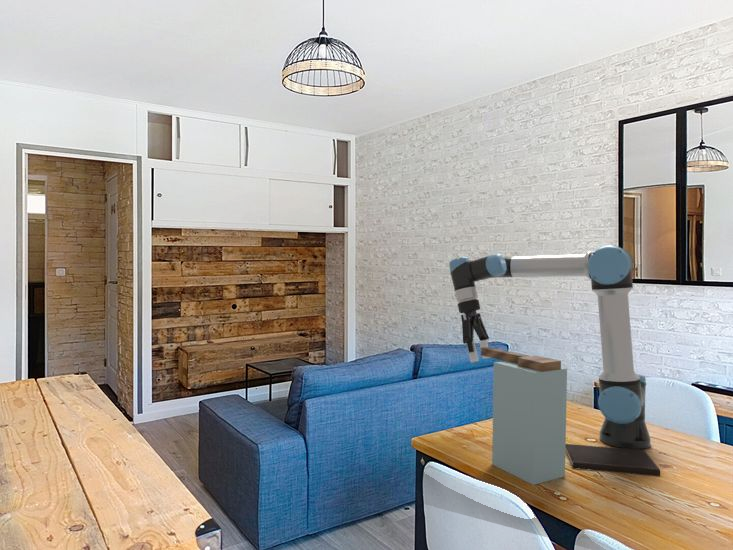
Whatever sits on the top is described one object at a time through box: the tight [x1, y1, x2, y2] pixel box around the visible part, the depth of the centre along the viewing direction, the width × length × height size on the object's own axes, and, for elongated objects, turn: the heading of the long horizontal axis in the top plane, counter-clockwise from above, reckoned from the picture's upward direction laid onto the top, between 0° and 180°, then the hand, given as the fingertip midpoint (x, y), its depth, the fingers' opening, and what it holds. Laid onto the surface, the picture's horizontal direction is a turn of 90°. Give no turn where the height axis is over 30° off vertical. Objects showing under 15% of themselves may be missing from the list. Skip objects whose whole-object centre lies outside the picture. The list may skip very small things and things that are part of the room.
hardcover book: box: [565, 443, 661, 477], centre depth 158 cm, size 16×23×2 cm
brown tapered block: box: [480, 346, 562, 372], centre depth 155 cm, size 27×7×2 cm, turn 29°
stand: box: [491, 360, 568, 486], centre depth 151 cm, size 16×12×30 cm
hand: (481, 360), depth 185 cm, fingers open, 13 cm apart
